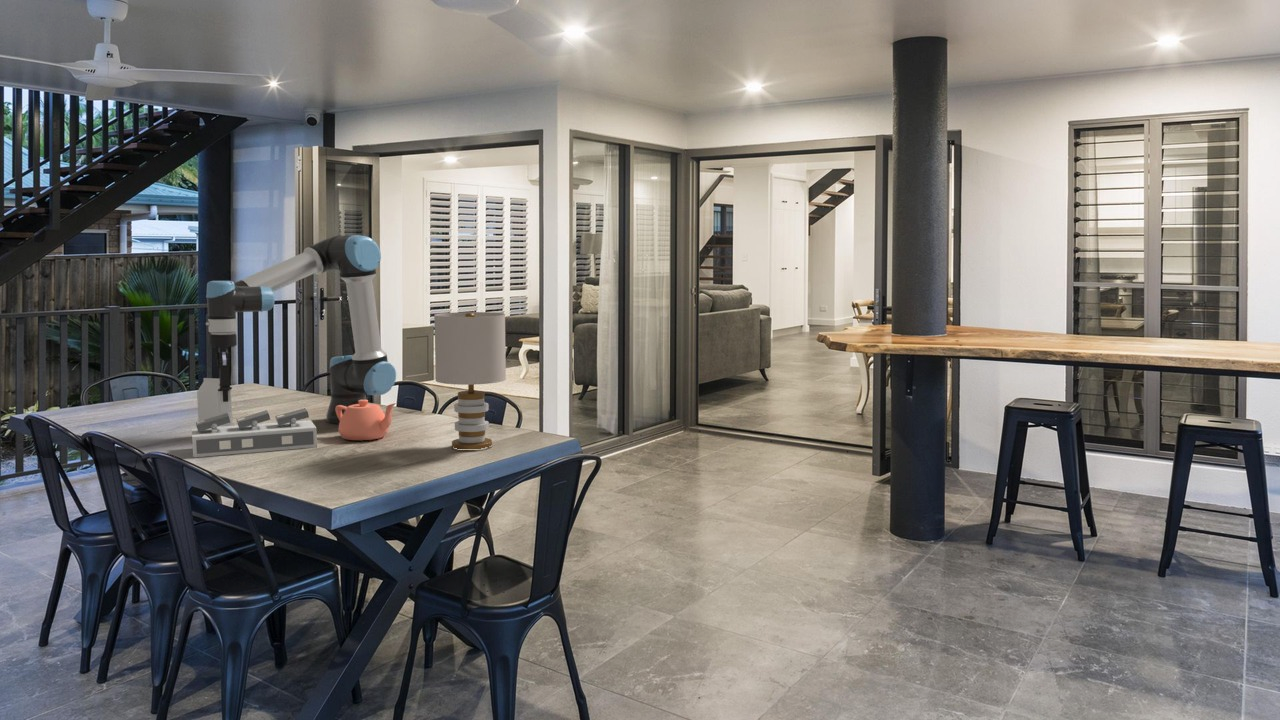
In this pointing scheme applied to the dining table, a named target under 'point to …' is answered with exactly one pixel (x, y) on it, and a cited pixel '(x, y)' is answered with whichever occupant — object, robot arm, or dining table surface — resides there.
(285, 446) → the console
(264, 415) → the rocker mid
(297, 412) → the plate
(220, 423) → the rocker
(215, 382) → the milk carton
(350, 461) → the dining table surface
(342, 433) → the teapot
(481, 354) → the lamp
